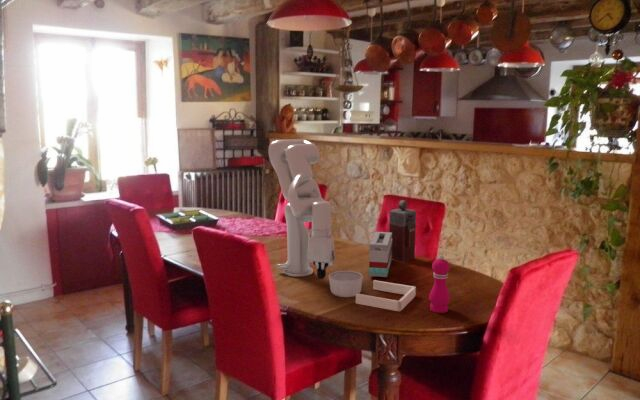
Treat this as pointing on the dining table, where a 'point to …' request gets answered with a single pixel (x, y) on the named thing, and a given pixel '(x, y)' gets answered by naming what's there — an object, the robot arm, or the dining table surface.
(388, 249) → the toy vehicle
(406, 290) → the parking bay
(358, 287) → the ramekin
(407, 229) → the square decanter
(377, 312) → the dining table surface
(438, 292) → the pepper mill
